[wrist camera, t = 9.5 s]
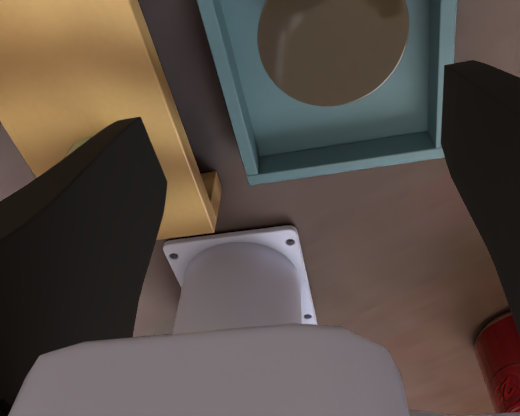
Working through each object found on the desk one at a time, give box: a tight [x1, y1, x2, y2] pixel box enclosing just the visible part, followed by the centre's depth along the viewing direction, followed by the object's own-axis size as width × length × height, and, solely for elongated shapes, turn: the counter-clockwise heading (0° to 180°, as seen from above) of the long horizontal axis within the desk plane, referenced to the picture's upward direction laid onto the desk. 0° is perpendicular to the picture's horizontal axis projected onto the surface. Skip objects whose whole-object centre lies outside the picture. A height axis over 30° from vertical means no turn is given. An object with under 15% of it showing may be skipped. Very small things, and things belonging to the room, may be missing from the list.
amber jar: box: [257, 0, 409, 107], centre depth 16 cm, size 5×5×5 cm
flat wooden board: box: [0, 0, 222, 240], centre depth 19 cm, size 18×7×4 cm, turn 12°
